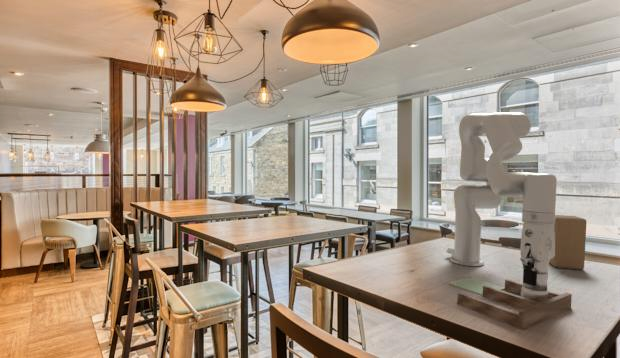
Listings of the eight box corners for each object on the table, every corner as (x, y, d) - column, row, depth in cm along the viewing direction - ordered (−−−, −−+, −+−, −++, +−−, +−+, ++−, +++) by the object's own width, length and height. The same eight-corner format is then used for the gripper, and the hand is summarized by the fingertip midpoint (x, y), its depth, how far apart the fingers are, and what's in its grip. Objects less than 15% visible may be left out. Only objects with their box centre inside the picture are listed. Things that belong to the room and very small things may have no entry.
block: (574, 264, 139) (576, 215, 138) (585, 271, 130) (587, 219, 129) (545, 261, 142) (548, 214, 142) (554, 267, 133) (556, 217, 132)
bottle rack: (457, 303, 94) (457, 289, 93) (506, 288, 107) (507, 276, 107) (523, 329, 79) (524, 312, 79) (570, 308, 93) (571, 293, 92)
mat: (448, 283, 110) (448, 282, 110) (470, 278, 117) (470, 277, 117) (483, 295, 100) (483, 294, 100) (505, 289, 107) (505, 288, 107)
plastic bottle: (514, 300, 97) (517, 231, 96) (536, 300, 98) (539, 231, 97) (531, 310, 91) (534, 236, 90) (554, 309, 91) (558, 236, 91)
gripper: (538, 221, 86) (534, 292, 86) (567, 218, 95) (564, 281, 95) (507, 217, 92) (504, 283, 93) (538, 214, 101) (535, 274, 102)
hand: (535, 281), depth 94 cm, fingers closed on plastic bottle, 5 cm apart
